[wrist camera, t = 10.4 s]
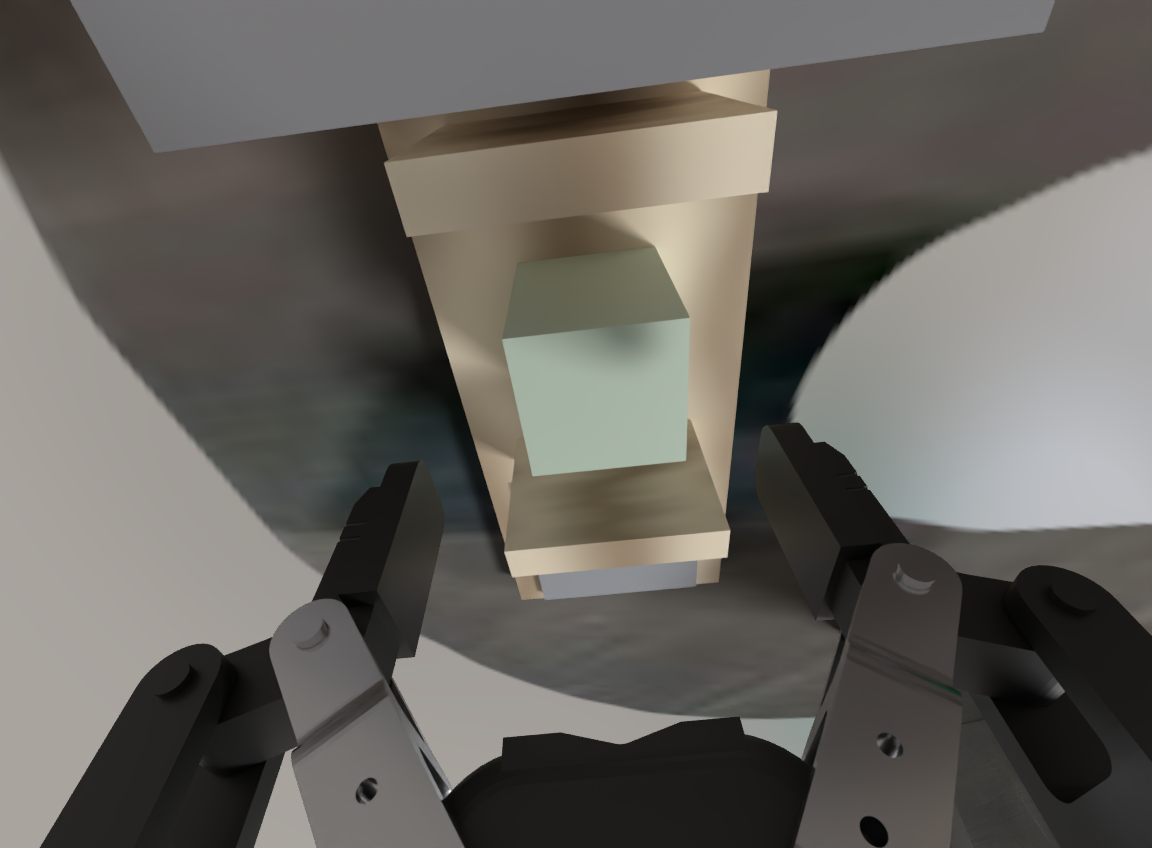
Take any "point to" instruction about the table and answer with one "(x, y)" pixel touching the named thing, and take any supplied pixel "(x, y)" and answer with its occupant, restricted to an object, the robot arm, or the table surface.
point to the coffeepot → (991, 793)
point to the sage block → (599, 361)
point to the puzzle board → (580, 227)
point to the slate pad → (619, 580)
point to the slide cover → (475, 52)
